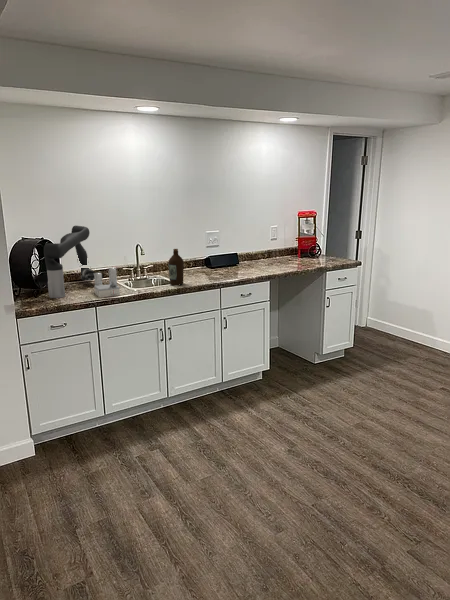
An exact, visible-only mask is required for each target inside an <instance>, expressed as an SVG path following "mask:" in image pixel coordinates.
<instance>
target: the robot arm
mask: <svg viewBox="0 0 450 600" xmlns="http://www.w3.org/2000/svg"><path fill="white" fill-rule="evenodd" d="M89 236H90V228H88V227H87V226H83V225H82V226H81V225H74V226H72V228H71V232H70V233H67V234H65V235H63V236H62V237H61V238H60V242H59V243H46V244H44V246H43V255H44V262H45V267H46V272H47V289H48V297H49V298H50V299H58V298H64V297H66V292H65V290H66V289H65V278H64V267H63V264H62V263H59V262H58V261H56V260H55V259H58V260H59V259H62V258H63V257H64V256H65V255H66V254H67V253H68V252H70V250H72V249H73V248H75V252H76V256H77V255H78V258H79V261H80V263H81V264H82V265H81V266H83V265H87V258H88V253H87V250H86V249H85V248H84V245H82V243H81V242H84V241H86V240H88V239H89ZM94 273H96V272H95V271H94V270H92V268H91V269H89V268H81V274H82V275H81V277H80V279H81V280H82V281H87V282H92V281H95V278H94ZM102 279H104V274H102Z"/></svg>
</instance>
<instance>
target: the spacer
mask: <svg viewBox="0 0 450 600" xmlns="http://www.w3.org/2000/svg"><path fill="white" fill-rule="evenodd" d="M94 278H95V279H94V286H98V285H103V278H102V272H95V273H94Z"/></svg>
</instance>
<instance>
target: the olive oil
mask: <svg viewBox="0 0 450 600" xmlns="http://www.w3.org/2000/svg"><path fill="white" fill-rule="evenodd" d="M167 263H168V264H167V265H168V273H169V285H170V286H173V285H179V284H183V285H184V270H185V269H184V266H185V265H184V264H185V263H184V259H183V258H182V257H181V256H180V254H179V249H178V248H173V254H172V255H171V256H170V258H169V260H168V262H167ZM179 286H180V285H179Z"/></svg>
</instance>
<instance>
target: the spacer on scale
mask: <svg viewBox="0 0 450 600" xmlns="http://www.w3.org/2000/svg"><path fill="white" fill-rule="evenodd" d="M117 278H118V276H117V267H108V280H109V284H110V287H111V288H115V287H117V286H118V279H117Z"/></svg>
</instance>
